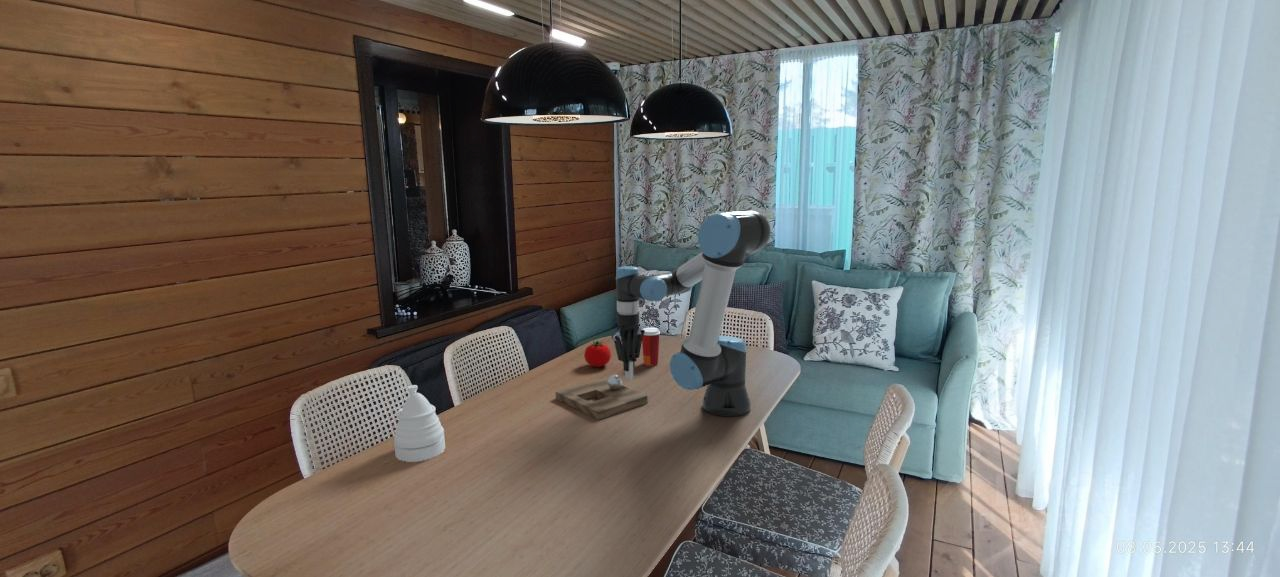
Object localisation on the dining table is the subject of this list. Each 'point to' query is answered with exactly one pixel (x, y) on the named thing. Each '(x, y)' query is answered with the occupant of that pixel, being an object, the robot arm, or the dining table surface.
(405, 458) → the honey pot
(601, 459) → the dining table surface
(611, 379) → the steel ball
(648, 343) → the paper cup
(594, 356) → the tomato
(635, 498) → the dining table surface
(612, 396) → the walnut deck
